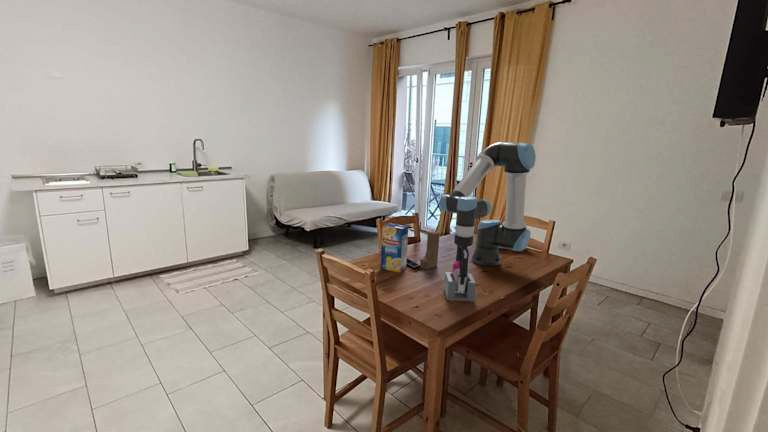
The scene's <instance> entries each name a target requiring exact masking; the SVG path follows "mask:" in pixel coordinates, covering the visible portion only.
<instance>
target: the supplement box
mask: <svg viewBox="0 0 768 432" xmlns="http://www.w3.org/2000/svg"><path fill="white" fill-rule="evenodd" d="M469 271H470V262H468V270H467V277H466V280H465V290H464V292H465V291H466V289H467V284H468V273H470V272H469ZM458 275H460V261H456V260H455V261H454V263H453V264H452V280H456V290H455V291H458V280H459V277H458ZM459 292H461V291H459Z"/></svg>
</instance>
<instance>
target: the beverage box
mask: <svg viewBox="0 0 768 432" xmlns="http://www.w3.org/2000/svg"><path fill="white" fill-rule="evenodd" d="M381 233H382V234H381V253H380V255H381V256H380V269H383V270H385V271H390V272H391V271H392V272H395V273H402V272H403V271H406V269H407V258H408V245H409V244H408V242H409V241H408V240H409V225H404V224H397V223H391V222H388V223H385V224H383V225H382V232H381Z"/></svg>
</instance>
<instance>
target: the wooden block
mask: <svg viewBox="0 0 768 432" xmlns="http://www.w3.org/2000/svg"><path fill="white" fill-rule="evenodd" d="M426 238H427V239H426V251H425V255H424V256H423V257H422V258H421V259H420V262H419V268H420V267H421V268H420V269H423V270H426V271H427V270H430V269H433V268H435V267H438V259H439V257H438V256H439V248H440V247H439V246H440V232H439V231H438V232H437V231H435V230H432V231H428V232H427V237H426Z"/></svg>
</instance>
